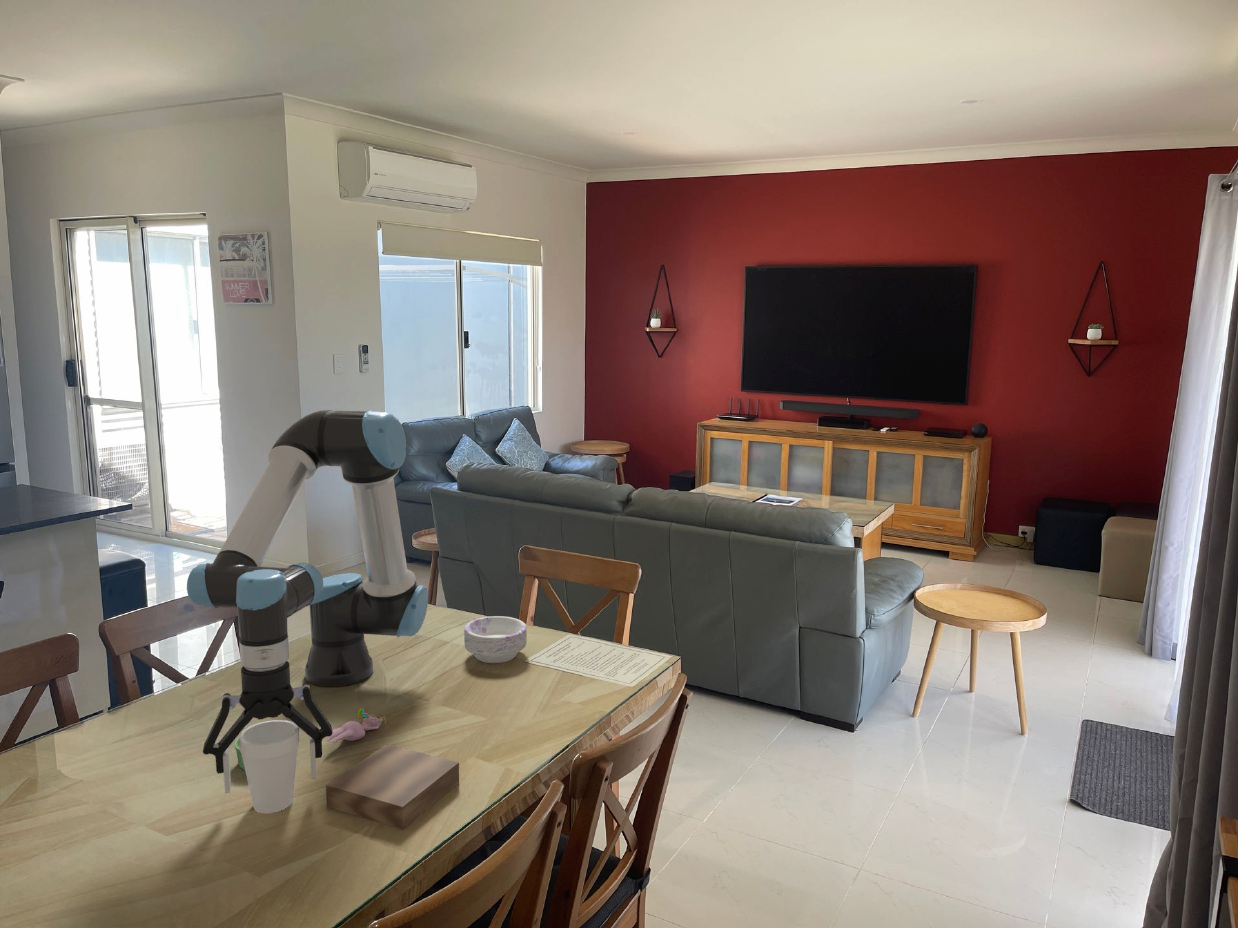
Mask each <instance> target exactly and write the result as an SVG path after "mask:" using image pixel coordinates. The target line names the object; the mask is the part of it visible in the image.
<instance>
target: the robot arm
mask: <svg viewBox="0 0 1238 928" xmlns="http://www.w3.org/2000/svg"><path fill="white" fill-rule="evenodd" d="M406 437H407V436H406V434H405V430H404V428H403V424H401V422H400V420H399V418H397V417H396V416H394V414H392V413H389V412H385V411H384V412H382V411H376V410H367V411H366V410H364V411H360V410H332V409H330V410H329V409H327V410H326V409H322V410H317V411H315V412H312V413H309V414H307V415H305V416H303V417H302V418H300V419H298V420H297V421H296V422H294V423H293V424H291V425H290V426H289V427H288V428H286V430H285V431H284V432H283V433H282V434H281V435H280V436H279V437H278V439H276V441H275V442H274V444H273V446H272V448H271V449H270V451H269V453H268V462H269V464H268V465H267V467H266V469H265V470H264V473H262V476H261V478H260V479H259V481H258V483H257V485H256V487H255V488H254V489H253V492H252V493H251V495H250V497H249V499H248V500H247V502H246V504H245V506H244V508H243V509H242V511H241V513H240V514H239V516H238V518H237V520H236V522H235V523H234V525H233V527H232V529H231V530H230V533H229V534H228V536H227V538H226V539H225V541H224V542H223V544H222V547H221V548H220V550H219V552H218V554H216V557H215V558H214V559H213V562H212V563H209V562H207V563H200V564H197V566H195V567H193V568H192V570H190V572H189V575H188V578H187V581H186V592H187V596H188V598H189V599H190V601H191V603H193V604H195V605H197V606H202V607H208V608H214V609H218V608H224V609H225V608H229V609H236V610H237V621H238V635H239V636H238V637H239V639H238V640H239V641H238V642H239V643H238V645H239V657H240V658H239V659H240V661H239V662H240V665H241V666H242V667H241V668H240V673H241V674H240V675H241V677H240V678H241V693H240V695H239V694H238V695H231V694H230V693H229V692H227V693H224V694H223V695H222V701H221V707H220V710H219V712H218V714H217V716H216V719H215V720H214V723H213V725H212V726H211V728H210V731H209V733H208V735H207V736H206V739H205V742H204V744H203V749H202V753H203V755H205V756H206V755H213V756H214V757H215V768H216V770H215V771H216V773H217V774H222V773H223V777H224V778H223V779H224V793H225V794H229V793H231V789H232V787H231V786H232V783H231V781H232V779H231V778H232V777H231V765H230V753H229V752H230V750H229V749H230V748H229V747H230V746H231V745H232V743H233V742H235V741H236V739H237V738H238V736H240V734H241V732H242V731H244V729H245V727H246V726H248V724H249V723H250V722H251V721H252V719H257V720H258V721H259V720H265V719H267V718H272V719H273V718H278V717H279V716H280V715H283V716H284V717H285V718H286V719H289V721H291V722H294V723H295V724H296V725H297V726H298V727H299V729H301V731H302V732H304V733H305V734H306V735H308V736H309V755H310V773H311V775H310V776H311V780H316V779H317V764H316V763H317V762H316V759H320V758H322V756H323V739H325V738H326V737H327V736H328V737H329V736H331V735H332V730H333V727H332V724H331V722H329V720H328V718H327V717H326V714H325V713H324V712H323V709H321V707H320V706H319V704H318V703H317V701H316V700H315V698H314V697H313V694H312V692H311V685H310V684H312V685H315V686H319V687H343V686H348V685H352V684H356V683H359V682H362V681H364V680H366V679H368V678H369V677H371V675H372V674H373V672H374V662H373V658H372V656H371V655H370V652H369V649H368V645H367V643H366V641H365V635H372V636H373V635H375V636H376V635H379V636H393V637H394V636H395V637H397V638H400V637H412V636H415V635H416V634H418V633H419V631H420V630H421V628H422V627H423V624H424V622H425V618H426V614H427V610H428V603H429V590H428V588H427V587H426V586H425V585H422V584H417V580H416V574H415V573H414V572H413V571H411V570H410V569H408V566H407V559H406V551H405V546H404V540H403V533H402V532H403V531H402V526H401V520H400V514H399V506H398V500H397V494H396V486H395V480H394V478H395V477H396V476H397V475H398V473H399V471H400V467H402V466H403V464H404V462H405V460H406V458H407V457H406V456H407V450H406V448H407V438H406ZM326 466H328V467H340V469H341V472H342V473H341V474H342V477H343V480H344V481H345V482H347V483H348V484H350V485H351V486H352V492H353V498H354V503H355V509H356V514H357V515H356V516H357V520H358V527H359V531H360V532H359V533H360V538H361V542H362V549H363V554H364V561H365V566H366V571H367V573H366V574H367V577H366V578H365V579H364V578H363V577H362V575H361V574H359V573H356V572H348V573H340V574H334V575H331V576H327V577H326V576H325V577H323V576H322V574H321V572H320V571H319V569H318V568H317V567H315V566H314V565H313V564H310V563H307V562H298V563H293V564H291V565H289V566H287V567H273V566H271V567H270V566H261V565H262V563H263V562H264V560H265V558H266V557H267V555H268V552H269V550H270V548H271V546H272V544H273V542H274V541H275V539H276V537H277V535H278V533H279V531H280V529H281V528H282V525H283V524H284V521H285V519H286V518H287V516H288V513H289V512H290V511H291V508H292V506H293V504H294V502H295V500H296V499H297V496H298V495H299V493H300V491H301V489H302V487H303V486H304V483H305V481H306V480H309V479H311V478H313V476H314V475H315V473H316V472H317V470H318V469H319V468H321V467H326ZM363 579H364V580H363ZM308 606H309V619H310V633H311V635H310V636H311V646H310V649H309V650H310V651H309V653H308V656H307V661H306V664H305V667H304V676H305V677H304V678H305V680H306V681H307V682H305V683H303V684H302V685H301V686H298V687H294V688H293V687H292V685H291V673H290V672H291V670H290V662H289V661H288V660H289V659H290V652H289V651H290V649H289V635H288V618H290V617H291V616H293V615H294V614H297V612H299V611H301V610H303V609H305V608H306V607H308ZM294 697H297V698H298V699H299V700H300V701H304V704H305V706H306V708H307V709H308V711H309V712H310V713H311V716H312V717H313V718H314V720H315V721H316V723H317V725H318V726H319V727H320V728H319V727H318V726H316V725H315V724H314V723H313V722H312V721H310V720H309V719H308V718H307V717H306V716H305V715H303V713H301V712H300V711H299V710H298V709H296V707H295V706H294V704H292V703H291V701H292V700H293V698H294ZM237 704H240V706H241V707H242V708H243V711H242V712H241V714H240V716H239V717H238V718H237V720H235V722H234V723H233V724H232V725H231V727H230V728H229V729H228V731H227V732H226V733H225V734H224V735H223V736H222V738H221V739H220V740H219V742H217V743H216V741H217V739H218V738H219V736H220V733H221V732H222V729H223V727H224V724H225V723H226V721H227V720H228V719H227V718H228V716H229V713H230V711H231V710H233V709H235V707H236V705H237Z"/></svg>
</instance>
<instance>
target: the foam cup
mask: <svg viewBox="0 0 1238 928" xmlns="http://www.w3.org/2000/svg"><path fill="white" fill-rule="evenodd" d="M238 736H239V737H238V738H239V748H240V752H241V753H242V758H243V763H244V767H245V770H244V772H245V774H246V779H247V785H248V790H249V793H250V798H251V802H252V806H253V809H254V808H255V809H254V810H255V812H257V813H260V812H261V813H260V814H274V813H273V812H275V813H278V812H279V813H280V812H281V810H282V811H284V810H286V809H288V808H289V807H290V806H291V805H293V802H292V801H294V792H295V785H296V784H295V781H296V773H297V772H296V771H297V761H298V760H297V759H298V748H299V744H300V740H301V739H300V728H299V727H298V726H297V725H296V724H295V723H294V722H293V721H291V720H286V719H271V720H267V721H260V722H257V723H255V724H253V725H252V724H251V725H249V726H248V727H246V728H244V729H243V730H242V731H241V732H240V733H239V735H238ZM288 806H289V807H288ZM287 807H288V808H287ZM285 808H286V809H285Z"/></svg>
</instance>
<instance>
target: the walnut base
mask: <svg viewBox="0 0 1238 928" xmlns="http://www.w3.org/2000/svg"><path fill="white" fill-rule="evenodd" d="M458 784H460V761H459V762H458V761H456V760H451V759H447V758H443V757H439V756H435V755H431V754H428V753H424V752H423V753H422V752H419V751H415V750H411V749H408V748H403V747H400V746H399V747H398V746H396V745H391V744H385V745H383V746H382V747H381V748H379V749H378V750H375V751H374V752H373V753H372V754H370V755H368V756H366V757H365V758H364V759H362V760H361V761H359V762H358V763H357V764H355V765H353V766H352V767H350V768H349V769H347V770H346V771H345V772H342V773H341V774H339V775H338V776H337V777H335V778H334V779H332V780H331V781H329V782H328V783H326V784H325V796H326V799H325V800H326V801H325V802H326V808H330V809H333V810H337V811H340V812H343V813H347V814H350V815H353V816H357V817H360V818H364V819H367V820H370V821H373V822H376V823H380V824H384V825H387V826H391V827H394V828H396V829H400V830H404V829H406V828H407V827H408V826H410V825H411V823H413V822H414V821H415V820H417V819H418V818H419V817H420V816H421V815H423V814H424V813H425V812H426V811H428V809H430V808H432V807H433V806H434V805H435V804H436V803H438V802H439V801H440V800H441V799H442V798H444V796H446V795H447V794H448V793H449V792H450V791H451V790H453V789H454V788H456V786H457V785H458Z"/></svg>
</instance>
